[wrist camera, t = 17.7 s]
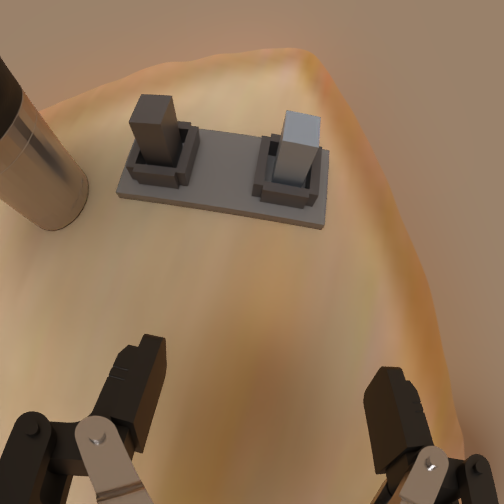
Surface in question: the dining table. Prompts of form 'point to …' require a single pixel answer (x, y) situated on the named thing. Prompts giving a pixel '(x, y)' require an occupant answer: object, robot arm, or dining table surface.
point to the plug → (296, 148)
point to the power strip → (215, 169)
